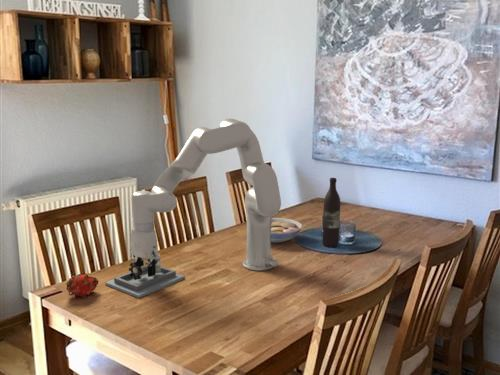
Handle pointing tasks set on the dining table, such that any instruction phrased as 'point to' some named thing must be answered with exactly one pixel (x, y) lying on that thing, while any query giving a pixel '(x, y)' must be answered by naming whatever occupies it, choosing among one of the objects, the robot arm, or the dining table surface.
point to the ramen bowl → (284, 229)
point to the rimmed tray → (144, 282)
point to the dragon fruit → (81, 285)
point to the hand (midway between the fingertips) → (145, 273)
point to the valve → (142, 269)
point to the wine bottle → (331, 216)
